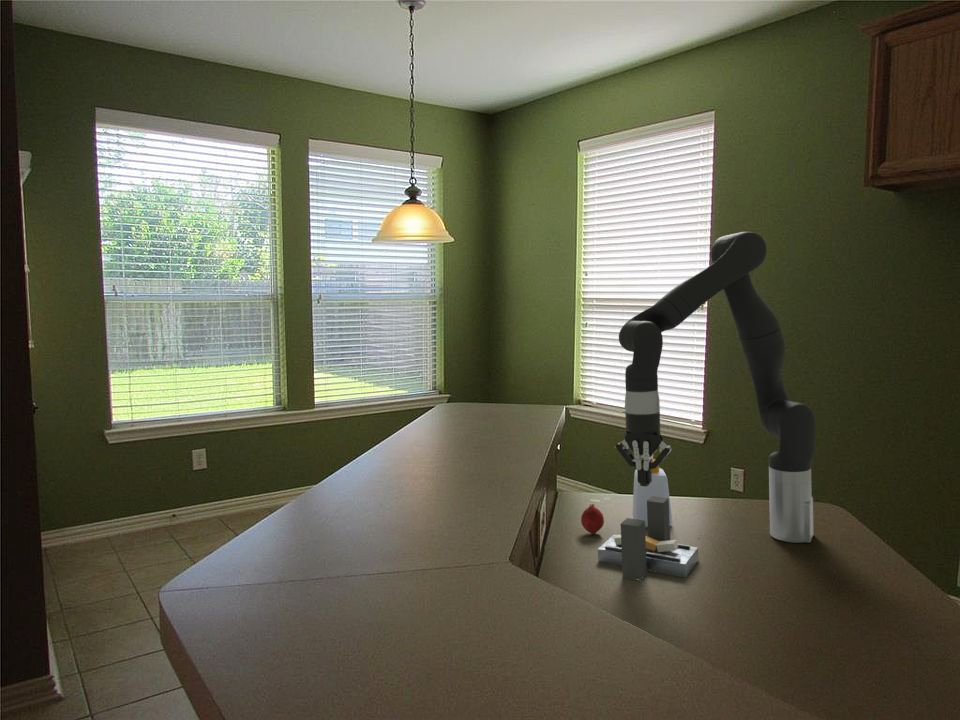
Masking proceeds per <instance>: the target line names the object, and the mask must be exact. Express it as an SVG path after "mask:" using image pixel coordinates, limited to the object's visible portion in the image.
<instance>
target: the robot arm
mask: <svg viewBox="0 0 960 720" xmlns="http://www.w3.org/2000/svg"><path fill="white" fill-rule="evenodd" d="M767 249H768V247H767V243H766V241H765V239H764V238H763V237H762V235H760V234H758V233H756V232H753V231H741V232H736V233H730V234H726V235H723V236H721V237H718V238H717V239H716V240H715V241H714V242H713V244H712V247H711V252H710V254H711V256H710V257H711V262H712V263H711V265H708V266H707V267H706V268H704V269H703V270H701V271H700V272H699V273H696V274H695V275H693V276H691V277H689V278H688V279H685V280H683V281H682V282H681V283H679V284H677V285H676V286H674V287H673V288H672V289H671V290H670V291H668V292H667V293H666V294H665V295H664V296H662V297H661V298H660V299H659V300H657V302H656V303H655V304H653V305H652V306H650V307H649V308H647V309H646V308H645V310H643V311H641V312H640V313H638V314H637V315H634V316H633V317H632V318H630V319H629V320H627V321H626V322H625V323H624V325H622V327H621V329H620V330H619V333H618V341H619V344H620V346H621V347H622V348H623V349H624V350H626V351H628V352H632V353H633V356H632V362H631V363H630V364H629V365H627V366H626V368H625V372H624V373H625V375H624V376H625V377H624V378H625V379H624V380H625V396H624V410H625V412H624V413H625V414H624V415H625V434H624V439H623V440H621V441H620V442H618V443H616V444H615V447H616V450H617V451H618V452H619V453H620V455H621V456H622V458H623V459H624V460H625V462H626V463H627V465H628V466H629V467H633V468H635V470H636V469H637V476H638V483H640V486H646V487H647V486H648V485H649V484H650V483H651V481H652V469H655V468H656V467H658V466H659V467H660V465H661V464H662V463H663V461H664V460H665V459H666V458H667V456H668V455H669V454H670V453H671V452H672V450H673V446H672V445H667V444H666V443H665V442H664V441H663V436H662V434H661V412H660V411H661V408H660V407H661V404H660V394H659V388H658V387H659V381H658V380H659V379H658V369H659V367H660V366H659V365H660V362H661V355H662V351H663V343H664V341H663V334H662V333H663V332H665V331H670V330H673V329H676V327H678V326H679V325H680V324H681V323H683V322H684V321H685V320H686V319H687V318H689V317H691V315H693V313H694V312H696V311H697V310H698V309H699V308H700V307H701V306H703V305H705V303H706V302H708V301H709V300H710V299H711V298H713V297H715V296H716V295H717V294H718V293H720V292H722V291H724V294H725V297H726V299H727V302H728V305H729V308H730V312H731V315H732V318H733V320H734V324H735V327H736V331H737V335H738V339H739V341H740V345H741V347H742V351H743V354H744V357H745V360H746V362H747V366H748V370H749V373H750V377H751V379H752V383H753V386H754V391H755V397H756V402H757V408H758V412H759V417H760V421H761V424H762V426H763V428H764V430H765V431H766V432H767V433H768V434H770V435H772V436H774V437H777V438H779V447H778V448H779V449H778V450H777V451H774V452H771V453H770V454H769V455H768V487H769V489H768V495H769V496H768V497H769V498H768V499H769V534H770V536H771V537H772V538H774V539H775V540H779V541H781V542H787V543H795V544H796V543H800V544H801V543H807V544H808V543H811V542H812V539H813V536H814V497H813V495H812V462H813V459H814V457H815V453H816V436H817V435H816V431H817V429H816V428H817V426H816V425H817V423H816V416H815V413H814V411H813V409H812V408H811V407H810V406H809V405H807V404H804V403H801V402H797V401H791V400H789V397H788V395H787V392H786V389H785V385H784V382H783V378H782V377H783V376H782V373H783V367H784V362H785V357H786V342H785V340H784V335H783V332H782V329H781V325H780V323H779V320H778V318H777V316H776V314H775V313H774V311H772V309H771V308H770V307H769V306H768V305H767V303H766V301H765V300H763V298H761V296H760V295H759V293H758V292H757V290H756V288H755V285H753V281H752V279H751V276H750V275H751V274H750V273H752V272H753V271H755V270H756V269H758V268H759V267H760V266H761V265H762V264H764V263H763V262H765V260H766V257H767V252H768V250H767ZM659 446H660V447H659ZM658 449H659V451H658ZM656 450H657V451H658V452H659V453H660V454H658V456H657V457H656V458H654V452H655V451H656ZM655 453H656V452H655ZM652 459H655V461H654V462H652Z"/></svg>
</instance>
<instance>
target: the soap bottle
mask: <svg viewBox="0 0 960 720" xmlns="http://www.w3.org/2000/svg"><path fill="white" fill-rule="evenodd" d="M658 448H660V446H659V447H658ZM614 449H616V450H617V448H616V446H614ZM657 452H658V449H657V450H656V451H655V452H654V453H657ZM654 453H653V454H654ZM655 459H656V458H653V459H652V462H654V461H655ZM633 476H634V477H633V495H632V496H633V497H632V500H633V501H632V517H633V518H632V519H638V520H645V528H648V520H647V500H648V499H649V498H651V497H652V496H656V497H665V498H669V522H670V527H672V524H673V514H672V507H671V506H672V505H671V498H670V490H669V481H668V477H667V475H666V473H665V471H664V469H663V468H661V467H660V465H659V466H658V467H656V468H655V469H652V481H651V483H650V484H649V485H648V486H647V487H646V486H640V483H638V476H637V469H636V468H635V470H634V475H633Z"/></svg>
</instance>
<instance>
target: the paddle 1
mask: <svg viewBox="0 0 960 720" xmlns="http://www.w3.org/2000/svg"><path fill="white" fill-rule="evenodd" d="M616 535H617V536H616V537H615V538H614V540H615V544H616V545H621V535H618V534H616Z"/></svg>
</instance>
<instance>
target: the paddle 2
mask: <svg viewBox="0 0 960 720" xmlns="http://www.w3.org/2000/svg"><path fill="white" fill-rule="evenodd" d="M677 543H678V541H677V539H670V540H669V541H659V543H658V544H657V545H656V546H657V550H658V552H664V551H675V550H676V549H677V548H678V544H679V543H678V544H677Z"/></svg>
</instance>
